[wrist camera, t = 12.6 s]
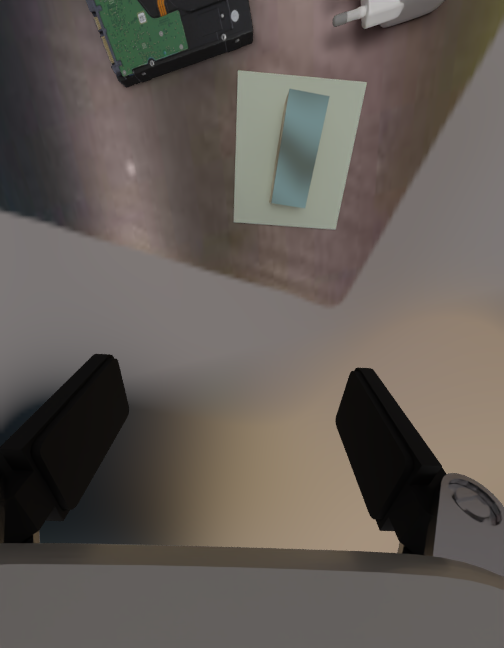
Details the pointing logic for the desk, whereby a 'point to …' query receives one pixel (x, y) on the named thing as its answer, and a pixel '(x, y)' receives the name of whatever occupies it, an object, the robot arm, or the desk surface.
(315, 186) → the mat
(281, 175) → the teal-faced wooden block
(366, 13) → the power adapter
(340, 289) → the desk surface
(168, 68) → the disk drive
